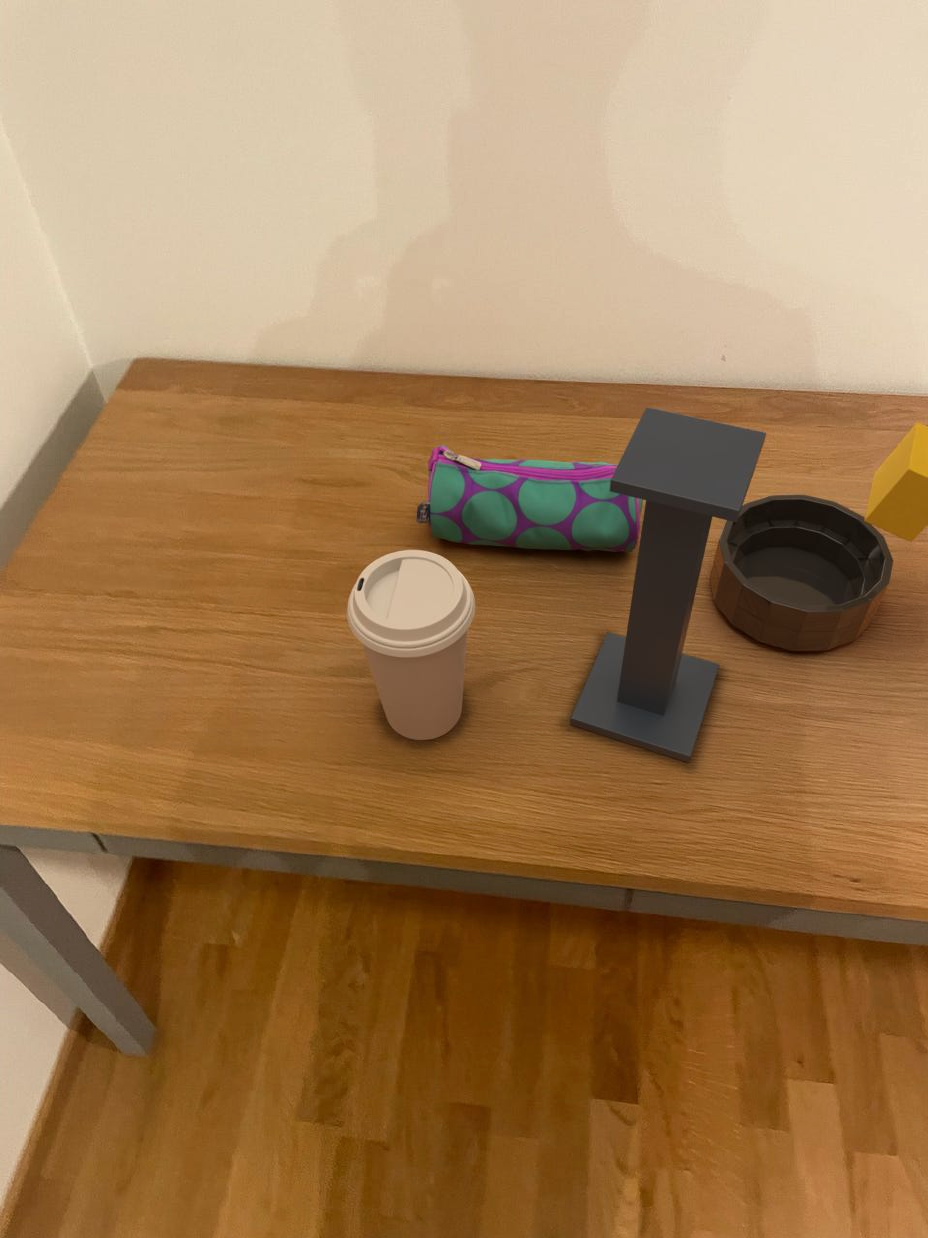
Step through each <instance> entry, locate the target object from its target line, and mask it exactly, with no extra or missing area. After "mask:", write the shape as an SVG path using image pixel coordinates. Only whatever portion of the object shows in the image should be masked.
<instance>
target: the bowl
mask: <svg viewBox="0 0 928 1238" xmlns="http://www.w3.org/2000/svg"><path fill="white" fill-rule="evenodd" d="M864 520H865V516H863V515H862V514H860V513H857V512H856V511H854V510H851V509H850V508H848V507H846V506H844V505H842V504H840V503H838V502H836V501H834V500H829V499H825V498H821V497H817V496H812V495H809V494H804V493H803V494H798V493H797V494H770V495H767V496H764V497H761V498H757V499H755V500H752V501H748V502H744V503H743V505H742V508H741V511H740V514H739V517H738V520H737V522H732V521H728V520H725V521H724V524H723V527H722V529H721V533H720V535H719V537H718V542H717V546H716V550H715V554H714V558H713V562H712V567H711V570H710V575H709V585H710V589H711V593H712V598H713V602H714V604H715V605H716V606H717V608H718V609H719V610H720V611H721V613H722V614H723V615H724V616H725V618H726V619H727V620H728V622H729V623H730V624H731V625H732V626H734V628H737V629H738V630H740V631H741V632H743V633H745V634H747V635H748V636H749V637H751V638H753V639H754V640H755V641H757V642H759V643H762V644H765V645H770V646H773V647H776V648H780V649H784V650H788V651H790V652H821V651H822V652H825V651H829V650H832V649H834V648H837V647H840V646H843V645H845V644H849V643H851V642H853V641H856V639H857V638H858V637H859V636H860V635H861V634H862V633H863V632H864V631H865V630H866V629H867V628H868V627H869V626H870V625H871V624H872V622H873V619H874V618H875V616H876V613H877V611H878V609H879V607H880V605H881V602H882V600H883V599H884V595H885V593H886V591H887V590H888V587H889V585H890V581H891V576H892V571H893V565H894V558H893V556H892V553H891V550H890V548H889V546H888V543H887V541H886V537H884V535H883V534H882V533H881V532H880V531H879V530H878V529H877V527H876V526H874V525H872V524H870V523H868V522H865V521H864Z"/></svg>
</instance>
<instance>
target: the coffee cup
mask: <svg viewBox="0 0 928 1238" xmlns="http://www.w3.org/2000/svg"><path fill="white" fill-rule="evenodd" d="M347 601H348V602H347V606H346V620H347V623H348V627H349V628H350V631H351V632H352V634H353V635H354V636H355V638H356V639H357V640H358V641H359V642H360V643H361V645H362V649H363V651H364V655H365V657H366V660H367V663H368V667H369V669H370V672H371V675H372V679H373V681H374V684H375V687H376V690H377V693H378V696H379V700H380V703H381V705H382V706H381V707H382V709H383V711H384V714H385V718H386V720H387V723H388V724H389V726H390V727H391V728H392V729H393V730H394V731H395V733H397V734H399V735H400V736H402V737H404V738H405V739H406V738H407V739H410V740H413V741H414V740H415V741H429V740H433V739H437V738H440V737H442V736H444V735H446V734H448V733H449V732H450V731H451V730H452V729H453V728H454V727H455V726H456V725H457V723H458V722H459V720H460V718H461V715H462V712H463V711H462V710H463V699H464V698H463V697H464V682H465V671H466V670H465V669H466V655H467V644H468V643H467V641H468V630H469V628H470V626H471V624H472V622H473V620H474V618H475V613H476V599H475V595H474V591H473V589H472V587H471V585H470V583H469V581H468V580H467V579H466V577H465V576H464V575H463V573H462V572H461V571H460V570H459V569H458V568H457V567H456V566H455V565H454V563H452V561H450V560H448V559H447V558H445V556H442V555H440V554H438V553H435V552H432V551H427V550H421V549H404V550H398V551H393V552H390V553H388V554H385V555H383V556H380V557H378V558H376V559H375V560H374V561H372V562H371V563H370V564H368V565H367V566H366V567H365V568H364V569H363V570H362V572H361V573H360V574H359V576H358V577H357V580H356V582H355V584H354V585H353V587H352V589H351V592H350V594H349V597H348V600H347Z"/></svg>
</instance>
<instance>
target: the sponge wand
mask: <svg viewBox="0 0 928 1238" xmlns="http://www.w3.org/2000/svg"><path fill="white" fill-rule="evenodd" d="M872 478H873V479H872V483H871V488H870V492H869V497H868V502H867V506H866V512H865V516H864V518H865V520H864V521H865V522H868V523H870V524H872V525H873V526H874V527H875V528H878V529H881V530H883V531H885V532H887V533H889V534H891V535H893V536H896V537H898V538H901V539H902V540H905V541H907V542H909V543H912V542H913V541H914V540H915V539H916V538H917V537H918V536H919V535H920V534H921V533H922V532H923V531H924V530H925V529H926V528H927V527H928V426H927V425H925V424H923V423H920V422H918V421H917V422H916V423H915V424H914V425H913V427H912V428H911V429H910V430H909V431H908V432H907V434H905V435H904V437H903V439H902V440H901V441H900V442H899V443H898V444H897V446H896V447H895V448H894V449H893V451H892V452H891V453H890V454H889V456H888V457H887V458H886V459H885V460H884V461H883V462H882V464H881V465H880V466H879V468H878V469H877V470H876V471H875V473H874V474H873V477H872Z"/></svg>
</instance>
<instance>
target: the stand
mask: <svg viewBox="0 0 928 1238" xmlns="http://www.w3.org/2000/svg"><path fill="white" fill-rule="evenodd" d="M766 437H767V432H765V431H762V430H761V431H760V430H756V429H752V428H747V427H742V426H737V425H733V424H728V423H723V422H719V421H714V420H710V419H705V418H700V417H696V416H691V415H687V414H681V413H677V412H672V411H669V410H664V409H659V408H654V407H649V406H646V407H645V408H644V411H643V413H642V415H641V417H640V419H639V421H638V423H637V425H636V427H635V429H634V431H633V433H632V435H631V437H630V439H629V441H628V443H627V445H626V447H625V450H624V452H623V453H622V455H621V457H620V459H619V461H618V463H617V465H618V466H617V468H616V470H615V472H614V474H613V476H612V478H611V480H610V490H609V491H610V492H614V493H618V494H622V495H626V496H630V497H634V498H638V499H643V501H645V504H644V511H643V518H642V524H641V525H642V526H641V531H640V539H639V547H638V551H637V552H638V553H637V559H636V566H635V573H634V580H633V586H632V593H631V601H630V607H629V615H628V622H627V629H626V636H623V635H620V634H616V633H613V632H610V631H607V632H606V634H605V637H604V639H603V641H602V644H601V646H600V648H599V651H598V653H597V655H596V657H595V660H594V662H593V664H592V667H591V669H590V672H589V674H588V676H587V679H586V681H585V683H584V685H583V688H582V690H581V692H580V695H579V697H578V700H577V702H576V704H575V707H574V709H573V712H572V714H571V716H570V723H569V725H571V726H573V727H577V728H580V729H582V730H586V731H589V732H592V733H594V734H598V735H601V736H605V737H608V738H609V739H610V738H611V739H613V740H617V741H620V742H623V743H626V744H629V745H631V746H635V747H638V748H642V749H644V750H647V751H651V752H654V753H657V754H660V755H663V756H666V757H669V758H672V759H675V760H678V761H681V762H684V763H687V764H689V763H690V761H691V758H692V755H693V751H694V749H695V746H696V743H697V738H698V736H699V733H700V729H701V727H702V724H703V720H704V717H705V714H706V710H707V707H708V705H709V701H710V698H711V694H712V692H713V689H714V685H715V682H716V679H717V676H718V673H719V669H720V663H716V662H713V661H710V660H706V659H703V658H699V657H696V656H693V655H688V654H685V653H683V651H684V647H685V644H686V638H687V633H688V630H689V626H690V625H689V624H690V620H691V615H692V611H693V606H694V602H695V597H696V593H697V588H698V584H699V579H700V575H701V570H702V566H703V562H704V557H705V552H706V548H707V543H708V539H709V535H710V530H711V525H712V521H713V518H716V519H720V520H725V521H726V520H728V521H732V522H737V520H738V517H739V514H740V511H741V508H742V505H743V504H744V503H745V499H746V496H747V493H748V491H749V488H750V485H751V482H752V479H753V477H754V474H755V470H756V468H757V464H758V462H759V459H760V456H761V453H762V450H763V447H764V444H765V441H766Z"/></svg>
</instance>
